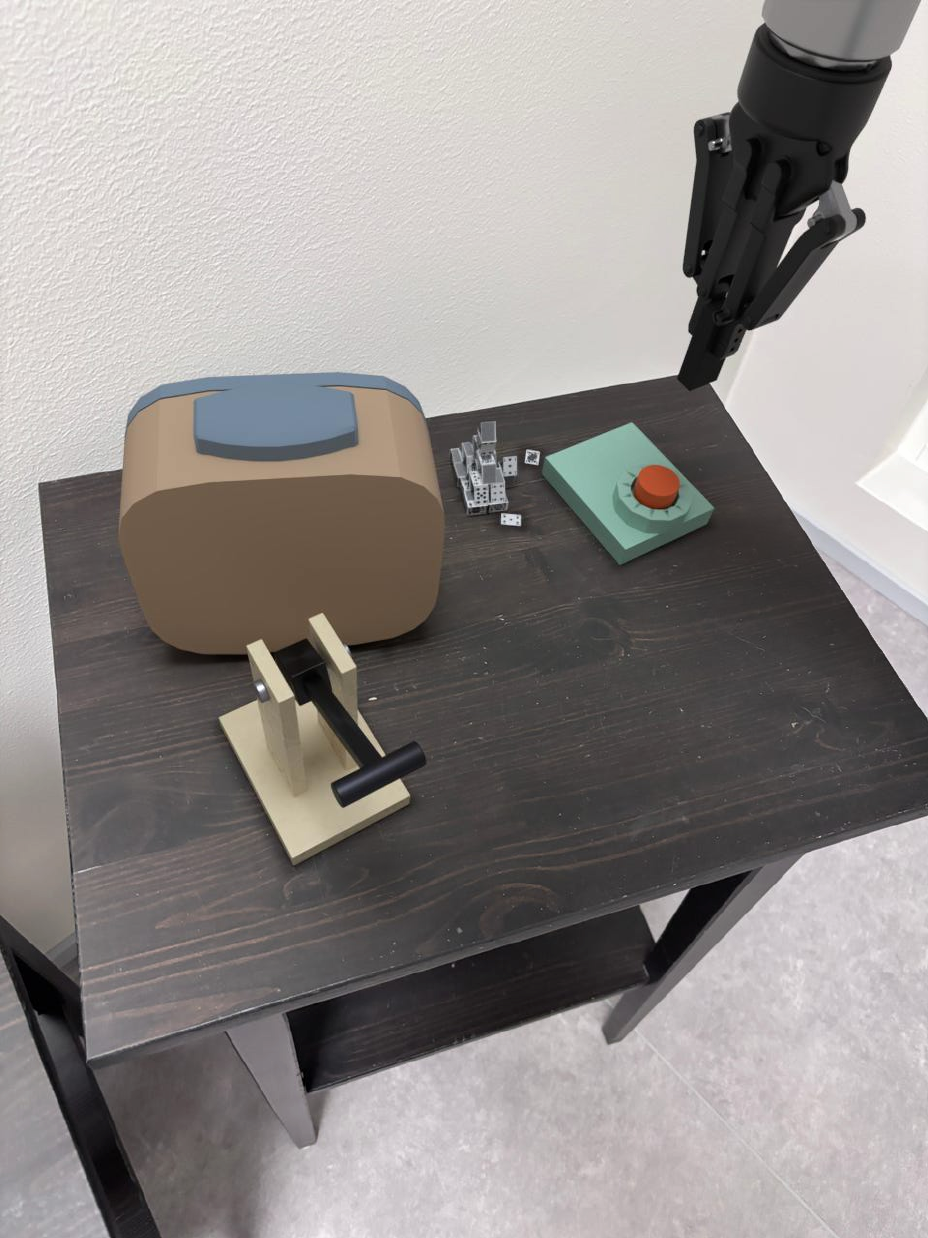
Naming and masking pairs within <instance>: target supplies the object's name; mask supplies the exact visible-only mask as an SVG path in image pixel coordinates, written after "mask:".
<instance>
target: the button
mask: <svg viewBox="0 0 928 1238" xmlns="http://www.w3.org/2000/svg"><path fill="white" fill-rule="evenodd" d="M679 487H680V481H679V478H678V476H677V475H676V474H675V473H674V472H673V471H672V470H671V469H669V468H667V467H664V466H660V465H650V466H647V467H645V468H643V469H642V470H641V471H640V472H639V474H638V477H637V480H636V483H635V486H634V490H633V491H634V496H635V498H636V499H637V500H638V502H639V503H641V504H642V505H644V506H646V507H648V508H651V509H665V508H667V507H669V506H670V505H671V504H672V503H673V502H674V500H675V497H676V495H677V492H678V490H679Z"/></svg>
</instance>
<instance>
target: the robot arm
mask: <svg viewBox="0 0 928 1238" xmlns="http://www.w3.org/2000/svg"><path fill="white" fill-rule="evenodd" d="M921 2H922V0H764V2H763V4H762V8H761V18H762V19H763V23H762V24H761V25H759V26H758V27H757V28H756V30H755V32H754V35H753V38H752V41H751V44H750V47H749V50H748V53H747V57H746V60H745V63H744V66H743V70H742V72H741V76H740V78H739V82H738V84H737V89H736V95H737V102H736V103H735V104H733V105H734V106H733V107H732V109H731V110H730V111H727V112H723V113H719V114H716V115H715V114H714V115H712V116H708V117H705V118H704V117H703V118H700V119H698V120H696V121H695V123H694V124H693V125H694V126H693V138H694V139H693V141H694V150H695V166H694V167H695V168H694V176H693V183H692V190H691V191H692V192H691V199H690V206H689V215H688V221H687V229H686V236H685V246H684V252H683V258H682V259H683V260H682V273H683V274H684V276H685V278H688V279H691V278H692V279H693V281H694V282H695V285H696V289H695V291H696V296H697V299H696V302H695V305H694V307H693V310H692V313H691V315H690V319H689V321H688V325H687V332H688V334H690V336H691V337H690V339H689V343H688V346H687V349H686V352H685V354H684V357H683V360H682V362H681V366H680V369H679V372H678V374H677V377H676V380H677V381H678V382H679V383H680V384H681V385H682V386H684V388H686V390H687V391H689V392H691V391H694V390H696V389H699V388H701V387H702V388H703V387H705V386H707V385H709V384H712V383H713V382H717V381H718V379H719V376H720V374H721V371H722V369H723V367H724V364H725V361H726V359H727V358H728V357H731V356H734V355H735V354H736V353H737V352H738V351H739V349H740V347H741V344H742V342H743V339H744V337H745V336H746V332H747V331H753V330H756V329H759V328H762V327H764V326H766V325H770V324H772V323H775V322H777V321H779V320H780V319H781V318H782V317H783V315H784V314H785V313H786V312H787V310H788V309H789V308H790V307H791V305H792V304H793V303H794V302H795V300H796V299H797V297H798V296H799V295H800V294H801V292H802V291H803V290H804V288H805V287H806V286H807V284H808V283H809V282H810V280H811V279H812V278H813V276H814V275H815V274H816V273H817V271H818V270H819V269H820V268H821V266H822V265H823V264H824V262H825V261H826V260H827V258H829V256H830V255H831V253H832V252H833V251H834V250H835V248H836V247H837V245H839V243H840V242H842V241H843V240H844V239H846V238H848V237H849V236H851V235H852V234H854V233H857V232H858V231H860V230H861V229H862V228H863V227H864V226H865V225H866V223H867V216H866V212H865V210H864V209H862V208H861V207H855V208H852V207H851V206H850V202H849V200H848V198H847V195H846V192H845V189H844V186H843V184H844V182H845V181H846V180H847V177H848V173H849V167H850V166H849V164H850V153H851V150H852V147H853V145H854V144H855V142H856V141H857V139H858V137H859V136H860V135H861V133H862V132H863V130H864V129H865V128H866V126H867V124H868V122H869V121H870V118H871V116H872V113H873V111H874V109H875V107H876V104H877V102H878V100H879V98H880V95H881V94H882V91H883V89H884V88H885V87H884V86H885V84H886V82H887V80H888V77H889V75H890V73H891V71H892V68H893V61H892V57H891V56H892V55H893V54H894V53H896V52H897V51H899V50H900V48H901V46H902V44H903V42H904V40H905V38H906V35H907V33H908V31H909V29H910V26H911V24H912V22H913V20H914V17H915V16H916V13H917V11H918V8H919V7H920V5H921ZM816 202H818V206H817V208H816V210H815V211H814V212H813V213H812V215H811V217H809V218H808V219H807V222H806V224H807V227H808V228H807V230H805V231H804V232H802V234H801V235H800V236H798V238H797V239H796V240H795V242H794V243H793V244H792V246H791V247H790V248H789V250H788V251H787V253H786V254H785V255H784V252H785V250H786V247H787V244H788V242H789V239H790V237H791V234H792V232H793V230H794V228H795V226H796V225H798V224H799V223H800V222H801V220H802V219H803V218H804V215H805V213H806V211H807V208H808V207H809V206H811V205H813V204H814V203H816ZM703 251H704V254H703ZM783 255H784V257H783V258H782V256H783ZM781 259H782V260H781Z"/></svg>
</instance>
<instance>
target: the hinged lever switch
mask: <svg viewBox="0 0 928 1238" xmlns="http://www.w3.org/2000/svg"><path fill="white" fill-rule="evenodd" d="M308 621H309V632H310V642H311V645H312V646H313V647H314V648H315V650H316V651H317V652H318V653H319V655H320V656H321V657H322V658H323V660H324V661H325V663H326V667H327V671H328V674H329V678H330V682H331V686H332V690H333V691H332V692H333V693H334V695H335V696H336V697H337V699H338V700H339V701H340V703H341V704H342V705H343V707H344V708H345V709H346V710H347V712H348V713H349V714H350V716H351V717H352V718H353V720H354V721H355V722H356V724H357V725H358V726H359V727H360V729H361V730H362V731H363V733H364V734H365V735H366V737H367V738H368V739H369V741H370V742H371V743H372V744H373V746H374V747H375V748H376V750H377V751H378V752H379V754H380V755H381V756H382V757H383V756H385V755H386V753H385V751H384V750H383V748H382V747H381V745H380V744H379V742H378V740H377V739H376V737H375V735H374V734H373V732H372V730H371V729H370V727H369V725H368V724H367V722H366V721H365V718H364V717H363V716H362V714H361V712H360V711H359V708H358V669H357V667H358V666H357V665H356V663H355V662H354V660H353V659H354V658H353V655H352V652H351V650H350V648H349V645H346V643H345V642H341V641H340V639H339V638H338V636H337V635H336V633H335V631H334V630H333V628H332V627H331V625H330V623H329V622H328V620H327V619H326V617H325V615H324V614H323V613H321V614H319V615H316V616H314V617H312V618H309V619H308ZM246 647H247V652H248V654H247V658H248V661H249V666H250V671H251V676H252V680H253V681H252V683H251V685H252V688H253V690H254V693H255V695H256V700H254V701H252V702H249V703H247V704H245V705H243V706H240V707H238V708H236V709H234V710H231V711H230V712H228V713H225V714H223V715H221V716H219V717H218V721H219V724H220V727H221V730H222V731H223V733H224V735H225V737H226V739H227V741H228V743H229V745H230V747H231V749H232V750H233V753H234V754H235V756H236V758H237V760H238V762H239V764H240V766H241V768H242V770H243V772H244V774H245V776H246V778H247V780H248V782H249V784H250V785H251V787H252V789H253V791H254V794H255V795H256V798H257V799H258V801H259V802H260V804H261V806H262V808H263V811H264V812H265V814H266V816H267V818H268V820H269V822H270V824H271V826H272V828H273V829H274V831H275V834H276V835H277V837H278V839H279V841H280V843H281V845H282V847H283V849H284V851H285V852H286V854H287V857H288V858H289V860H290V862H291V864H292V866H293V867H294V866H296V865H298V864H300V863H302V862H303V861H305V860H307V859H309V858H312V857H313V856H315V855H316V854H318V853H320V852H322V851H324V850H326V849H328V848H330V847H331V846H334V845H335V844H337V843H339V842H341V841H343V840H344V839H347V838H348V837H350V836H352V835H354V834H356V833H358V832H359V831H361V830H364V829H365V828H367V827H369V826H371V825H373V824H375V823H376V822H378V821H380V820H382V819H384V818H386V817H388V816H389V815H391V814H393V813H395V812H397V811H399V810H401V809H402V808H404V807H406V806H408V805H409V804H410V801H411V794H410V793H409V791H408V789H407V788H406V786H405V784H404V783H403V781H402V778H400V779H398V780H396V781H394V782H392V783H391V784H389V785H387V786H385V787H383V788H381V789H379V790H377V791H375V792H373V793H371V794H369V795H367V796H366V797H364V798H362V799H360V800H358V801H356V802H354V803H352V804H350V805H348V806H346V807H344V808H342V807H341V806H340V805H339V803H338V802H337V800H336V798H335V796H334V794H333V792H332V789H331V783H332V782H334V781H336V780H338V779H340V778H342V777H344V776H346V775H348V774H350V773H352V772H354V771H356V770H358V769H359V767H358V765H357V764H356V762H355V761H354V760H353V758H352V757H351V756H350V754H349V753H348V751H347V750H346V749H345V747H344V746H343V744H342V743H341V742H340V740H339V739H338V738H337V736H336V735H335V733H334V732H333V731H332V729H331V728H330V727H329V725H328V724H327V722H326V721H325V720H324V718H323V717H322V716H321V714H320V713H319V711H318V710H317V709H316V707H315V706H314V705H313V703H312V702H308V703H306V704H304V705H302V706H299V704H298V703H297V702H296V700H295V697H294V694H293V692H292V691H291V689H290V687H289V685H288V684H287V682H286V680H285V678H284V677H283V675H282V673H281V672H280V670H279V668H278V666H277V663H276V660H274V659H275V658H273V656H272V654H271V652H269V651H268V649H267V647H266V646H265V644H264V642H263V640H262V639H261V640H258V641H256V642H254V643H251V644H249V645H247V646H246Z"/></svg>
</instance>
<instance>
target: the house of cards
mask: <svg viewBox="0 0 928 1238" xmlns="http://www.w3.org/2000/svg"><path fill="white" fill-rule="evenodd" d="M496 424H497V422H496V420H493V421H481V422H479V425H478V426H477V428H476V430H477V434H475V435H472V436H471V438H470V440H469V441H467V442H461V444H460V445H459V447H457V448H450V450H449V452H448V461H451V462H452V466H453V469H454V473H455V476H456V480H457V482H456V487H457V488H460V491H461V494H462V498H463V502H464V507H465V510H466V512H465V516H466V517H467V516H468V517H469V516H476V515H477V516H478V515H487V514H488V516H489V514H490V513H497V512H498V513H499V512H503V513H501V514H500V525H506V526H514V527H515V526H516V527H521V526H522V514H515V513H505V512H507V511H508V508H509V503H510V500H508V497H507V495H506V488H513V487H514V485H515V481H516V476H518V455H512V456H503V457H502V458H501V459H500V460H499V461H498V462H497V451H496V445H497V425H496ZM540 454H541V452H540V451H539V450H533V449H526V451H525V458H524V464H527V465H528V464H529V465H533V466H539V462H540Z"/></svg>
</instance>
